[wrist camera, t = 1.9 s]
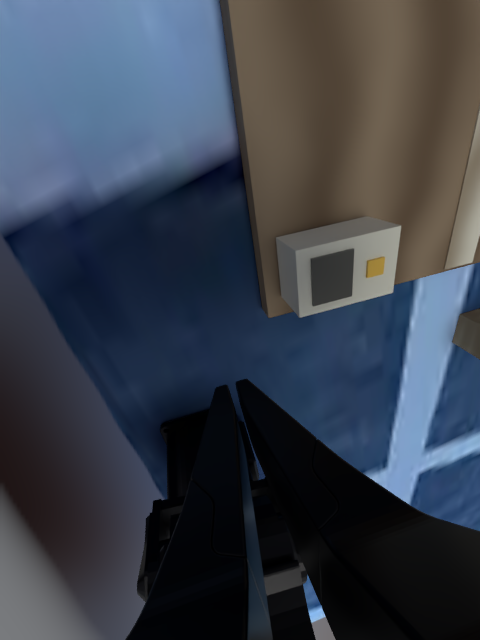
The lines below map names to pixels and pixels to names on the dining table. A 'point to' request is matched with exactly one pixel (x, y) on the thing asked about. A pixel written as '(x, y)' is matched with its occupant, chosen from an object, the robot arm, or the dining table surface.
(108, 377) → the dining table surface
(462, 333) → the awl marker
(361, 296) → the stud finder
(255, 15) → the board
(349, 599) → the robot arm
